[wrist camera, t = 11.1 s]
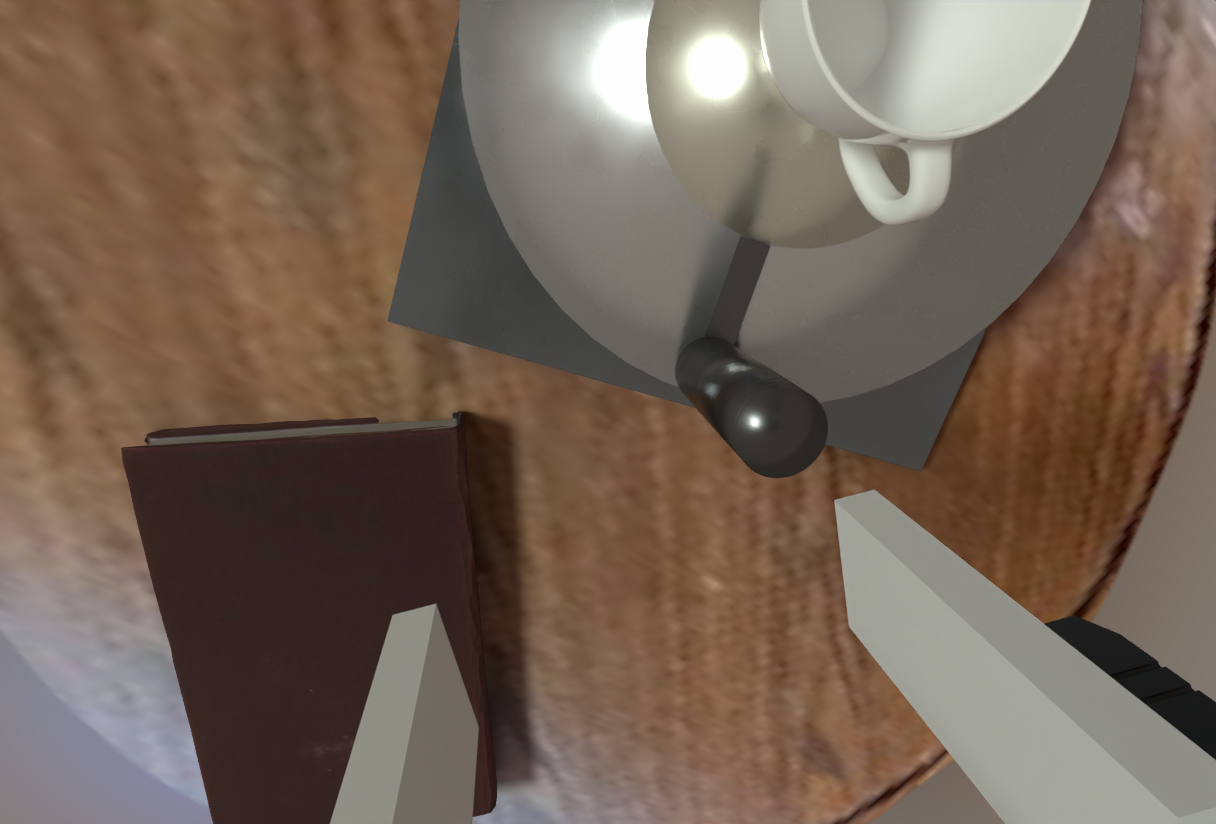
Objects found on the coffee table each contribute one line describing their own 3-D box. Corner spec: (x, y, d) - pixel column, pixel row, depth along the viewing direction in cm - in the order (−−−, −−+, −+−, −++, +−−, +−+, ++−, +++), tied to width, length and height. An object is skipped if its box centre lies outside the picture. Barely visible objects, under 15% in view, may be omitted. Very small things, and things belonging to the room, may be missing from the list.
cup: (937, -118, 22) (1114, -253, 15) (942, 202, 25) (1090, 201, 18) (705, -82, 21) (788, -207, 15) (740, 241, 24) (820, 254, 18)
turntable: (580, -507, 19) (637, -1124, 10) (1210, -148, 24) (1619, -355, 15) (390, 304, 25) (321, 359, 16) (929, 458, 30) (1105, 566, 21)
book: (470, 406, 29) (464, 430, 25) (498, 769, 34) (496, 825, 31) (155, 421, 27) (108, 448, 24) (239, 797, 33) (210, 859, 30)
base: (587, -508, 20) (671, -1355, 9) (1193, -162, 25) (1715, -444, 14) (392, 317, 27) (304, 396, 16) (908, 463, 32) (1118, 601, 21)
